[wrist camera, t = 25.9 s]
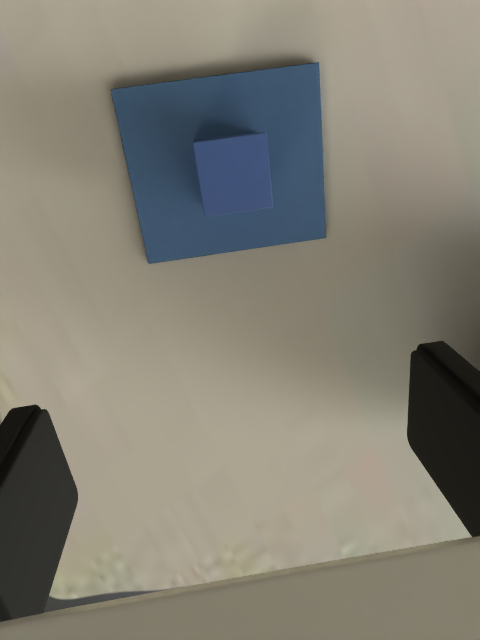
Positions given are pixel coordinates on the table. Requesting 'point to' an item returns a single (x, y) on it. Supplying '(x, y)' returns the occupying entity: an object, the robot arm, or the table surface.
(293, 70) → the blue mat
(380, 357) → the table surface
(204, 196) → the blue block
